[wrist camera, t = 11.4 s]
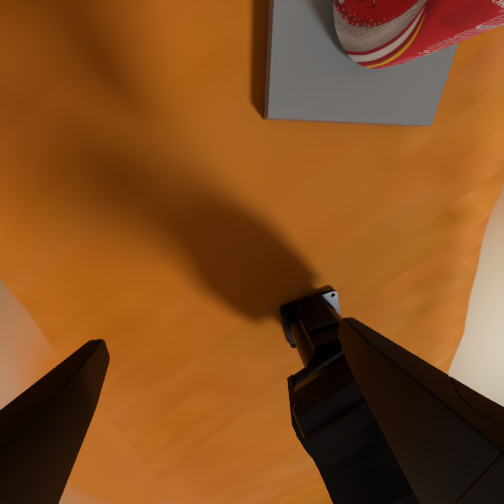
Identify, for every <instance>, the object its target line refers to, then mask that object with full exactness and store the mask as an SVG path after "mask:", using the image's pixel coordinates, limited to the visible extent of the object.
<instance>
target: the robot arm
mask: <svg viewBox="0 0 504 504" xmlns="http://www.w3.org/2000/svg"><path fill="white" fill-rule="evenodd" d="M332 293H333V294H332ZM331 294H332V295H331ZM285 309H286V310H285ZM283 310H285V311H283ZM280 313H281V317H282V320H283V323H284V327H285V330H286V333H287V336H288V340H289V343H290V346H291V347H292V348H297V350H298V352H299V355H300V357H301V360H302V362H303V365H304V367H305V368H303V369H302V370H300V371H299V372H297V373H296V374H294V375H291V376H289V377H288V378H287V381H288V391H289V400H290V410H291V419H292V426H293V428H294V430H295V432H296V436H297V438H298V439H299V440H300V442H301V444H302V445H303V447H304V449H305V450H306V452H307V453H308V454H309V455H310V456H311V457H312V458H313V460H314V462H315V464H316V466H317V468H318V470H319V472H320V474H321V476H322V478H323V481H324V483H325V485H326V488H327V490H328V493H329V495H330V497H331V500H332V502H333V504H504V407H503V406H501V405H499V404H497V403H495V402H494V401H492V400H490V399H488V398H486V397H484V396H483V395H481V394H479V393H478V392H476V391H474V390H472V389H471V388H469V387H468V386H466V385H464V384H462V383H461V382H459V381H457V380H456V379H454V378H452V377H449V375H447V374H446V373H444V372H442V371H441V370H439V369H437V368H436V367H434V366H432V365H431V364H429V363H428V362H426V361H424V360H423V359H421V358H419V357H418V356H416V355H414V354H413V353H411V352H409V351H408V350H406V349H404V348H403V347H401V346H399V345H398V344H396V343H394V342H393V341H391V340H389V339H388V338H386V337H384V336H383V335H381V334H379V333H378V332H376V331H374V330H373V329H371V328H369V327H368V326H366V325H364V324H363V323H361V322H359V321H358V320H356V319H355V318H352V317H349V318H343V319H342V317H341V316H340V309H339V302H338V295H337V292H336V291H335V290H334V289H331V290H328V291H325V292H322V293H319V294H316V295H313V296H310V297H307V298H304V299H301V300H298V301H295V302H292V303H289V304H286V305H283V306H281V307H280ZM109 360H110V356H109V352H108V349H107V346H106V343H105V341H104V340H103V339H97V340H90V341H88V342H87V343H86V344H84V345H83V346H82V347H80V348H79V349H78V350H77V351H75V352H74V353H73V354H71V355H70V356H69V357H68V358H66V359H65V360H64V361H63V362H61V363H60V364H59V365H57V366H56V367H55V368H54V369H52V370H51V371H50V372H49V373H47V374H46V375H45V376H43V377H42V378H41V379H40V380H38V381H37V382H36V383H34V384H33V385H32V386H31V387H29V388H28V389H27V390H25V391H24V392H23V393H22V394H20V395H19V396H18V397H16V398H15V399H14V400H13V401H11V402H10V403H9V404H8V405H6V406H5V407H4V408H3V409H1V410H0V504H59V501H60V498H61V496H62V493H63V491H64V488H65V486H66V483H67V480H68V478H69V476H70V473H71V471H72V468H73V466H74V463H75V461H76V458H77V455H78V453H79V450H80V448H81V445H82V443H83V440H84V438H85V435H86V433H87V430H88V428H89V425H90V422H91V420H92V417H93V414H94V412H95V409H96V407H97V403H98V400H99V397H100V393H101V389H102V386H103V382H104V379H105V375H106V372H107V368H108V365H109Z"/></svg>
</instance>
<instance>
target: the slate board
mask: <svg viewBox="0 0 504 504" xmlns="http://www.w3.org/2000/svg"><path fill="white" fill-rule="evenodd" d="M457 45H458V43H457V44H454V45H451V46H449V47H446V48H444V49H441V50H439V51H436V52H433V53H431V54H428V55H426V56H423V57H420V58H418V59H415V60H412V61H410V62H407V63H403V64H399V65H395V66H391V67H386V68H382V69H370V68H366V67H363V66H361V65H359V64H357V63H356V62H355V61H353V60H352V59H351V58H350V57H349V56H348V55H347V53H346V52H345V50H344V49H343V47H342V45H341V43H340V41H339V39H338V35H337V32H336V29H335V23H334V14H333V0H269V12H268V35H267V57H266V80H265V102H264V120H282V121H303V122H324V123H345V124H367V125H388V126H409V127H422V126H432V123H433V120H434V117H435V114H436V110H437V107H438V104H439V101H440V98H441V95H442V92H443V89H444V85H445V82H446V79H447V76H448V73H449V70H450V67H451V63H452V60H453V57H454V54H455V51H456V48H457Z"/></svg>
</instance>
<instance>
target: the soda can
mask: <svg viewBox="0 0 504 504" xmlns="http://www.w3.org/2000/svg"><path fill="white" fill-rule="evenodd" d="M333 14H334V23H335V29H336V32H337V35H338V39H339V41H340V43H341V45H342V47H343V49H344V50H345V52H346V53H347V55H348V56H349V57H350V58H351V59H352V60H353V61H355V62H356V63H357V64H359V65H361V66H363V67H366V68H370V69H382V68H386V67H391V66H395V65H399V64H403V63H407V62H410V61H412V60H415V59H418V58H420V57H423V56H426V55H428V54H431V53H433V52H436V51H439V50H441V49H444V48H446V47H449V46H451V45H454V44H457V43H459V42H462V41H464V40H467V39H469V38H472V37H474V36H477V35H479V34H482V33H484V32H487V31H489V30H492V29H494V28H497V27H499V26H502V25H504V0H333Z"/></svg>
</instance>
